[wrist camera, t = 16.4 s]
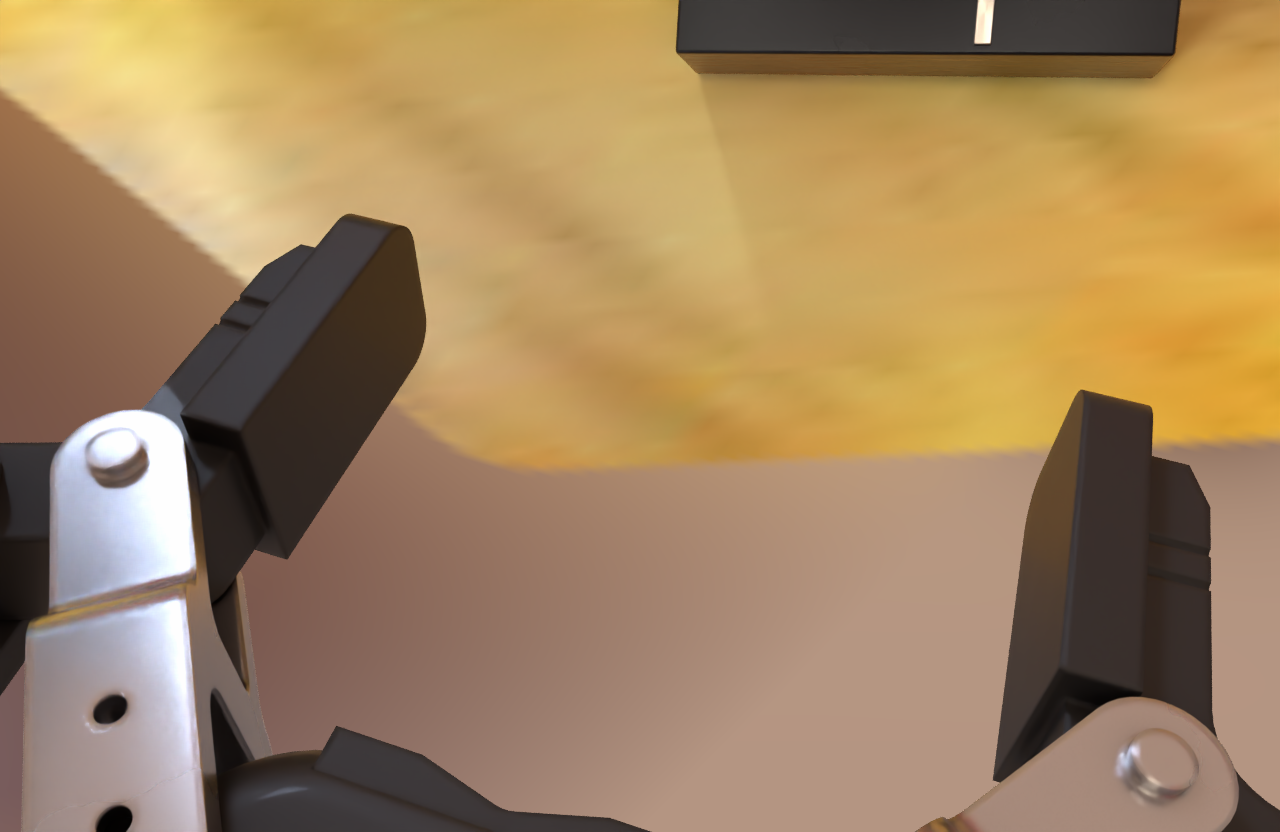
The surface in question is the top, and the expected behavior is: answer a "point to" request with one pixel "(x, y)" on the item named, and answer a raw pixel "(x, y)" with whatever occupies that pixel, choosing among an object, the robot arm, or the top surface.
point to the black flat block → (929, 37)
